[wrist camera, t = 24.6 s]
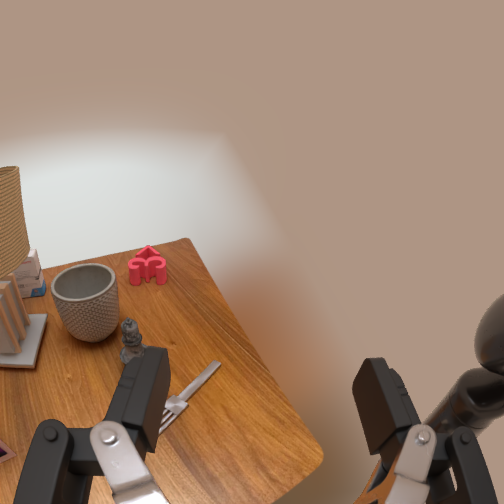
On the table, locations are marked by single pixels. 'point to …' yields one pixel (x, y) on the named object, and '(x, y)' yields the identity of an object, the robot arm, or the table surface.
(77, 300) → the planter
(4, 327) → the desk lamp
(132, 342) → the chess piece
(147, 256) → the letters
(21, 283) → the ink box
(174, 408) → the fork
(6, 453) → the greeting card
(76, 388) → the table surface
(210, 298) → the table surface
